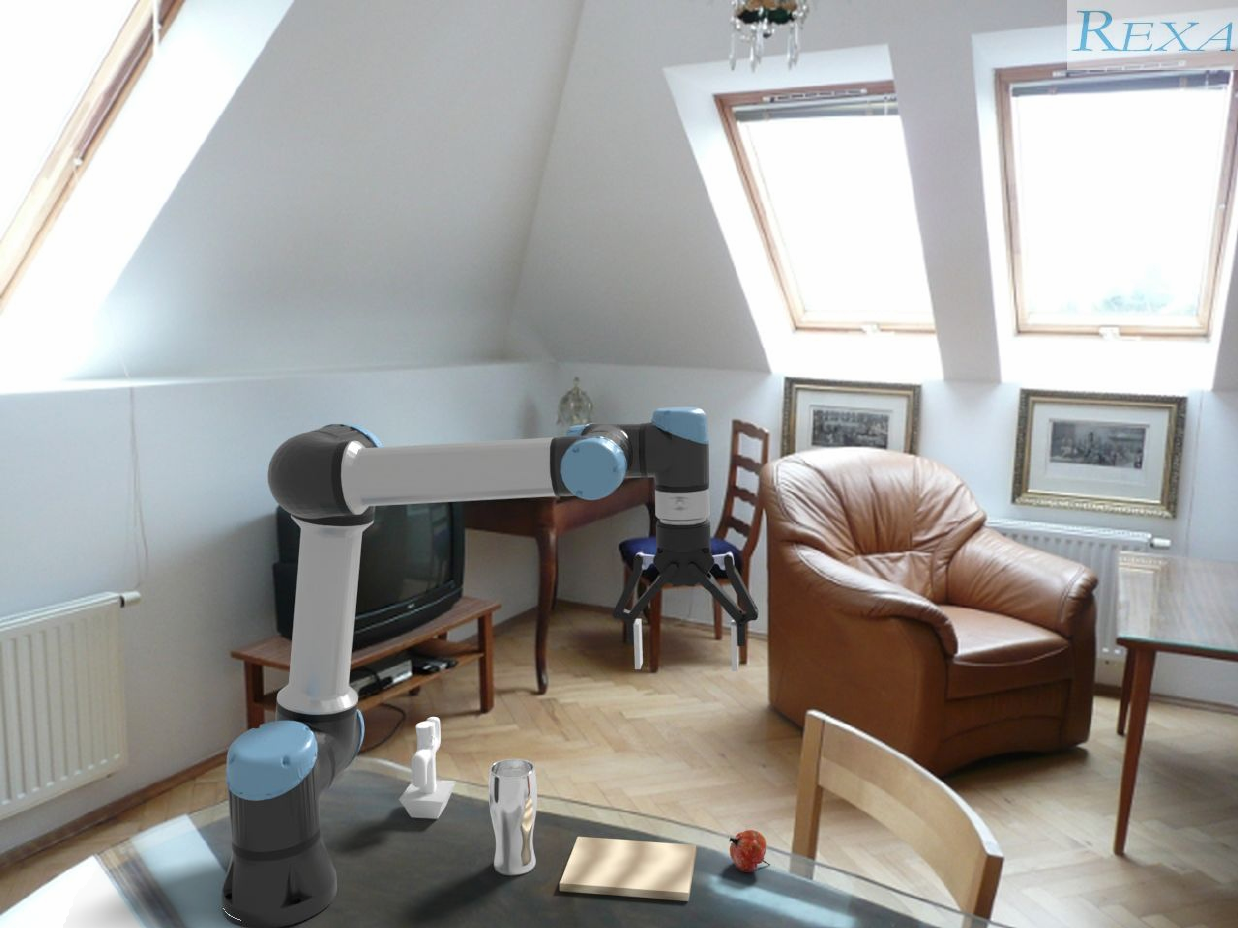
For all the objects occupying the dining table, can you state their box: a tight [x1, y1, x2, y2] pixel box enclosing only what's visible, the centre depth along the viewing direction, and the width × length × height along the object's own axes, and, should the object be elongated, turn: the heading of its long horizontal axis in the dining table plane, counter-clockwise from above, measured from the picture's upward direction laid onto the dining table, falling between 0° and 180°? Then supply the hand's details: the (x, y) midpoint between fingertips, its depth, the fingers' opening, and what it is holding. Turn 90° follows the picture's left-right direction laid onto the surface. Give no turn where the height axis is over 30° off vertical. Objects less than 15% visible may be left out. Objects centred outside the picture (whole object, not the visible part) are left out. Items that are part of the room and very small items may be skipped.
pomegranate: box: [728, 829, 771, 873], centre depth 150 cm, size 6×6×8 cm
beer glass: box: [488, 757, 538, 876], centre depth 151 cm, size 7×7×15 cm
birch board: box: [559, 836, 697, 902], centre depth 150 cm, size 18×13×1 cm
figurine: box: [398, 716, 456, 820], centre depth 167 cm, size 7×9×15 cm
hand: (686, 667), depth 146 cm, fingers open, 13 cm apart
